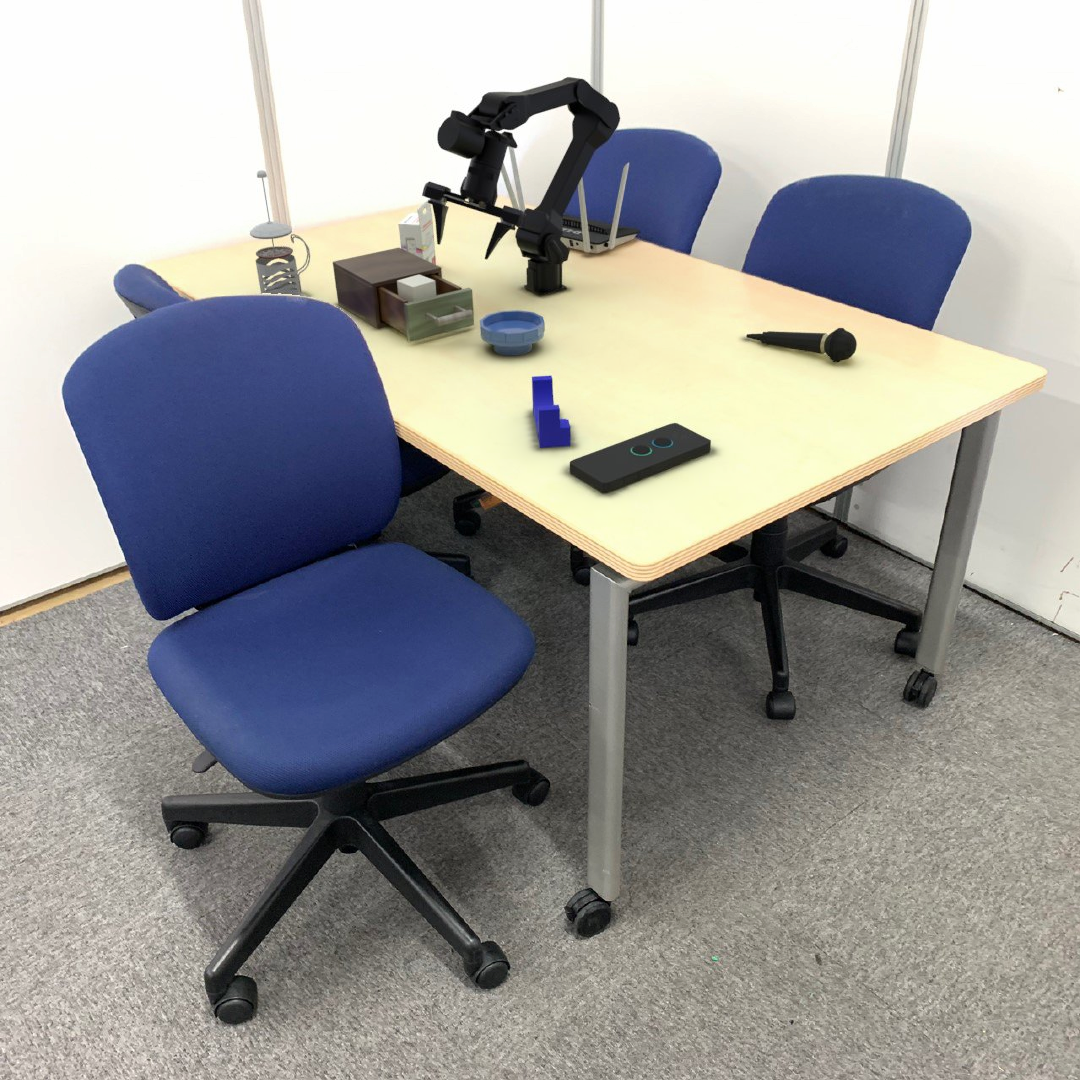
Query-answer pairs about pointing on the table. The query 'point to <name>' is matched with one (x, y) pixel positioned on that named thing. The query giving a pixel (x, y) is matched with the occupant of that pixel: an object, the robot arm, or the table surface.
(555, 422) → the blue stepped block
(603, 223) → the wireless router
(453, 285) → the drawer
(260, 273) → the french press
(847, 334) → the microphone
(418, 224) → the ink cartridge box
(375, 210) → the table surface
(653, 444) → the smart home device
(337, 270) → the cabinet
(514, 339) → the blue bowl
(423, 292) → the white block
